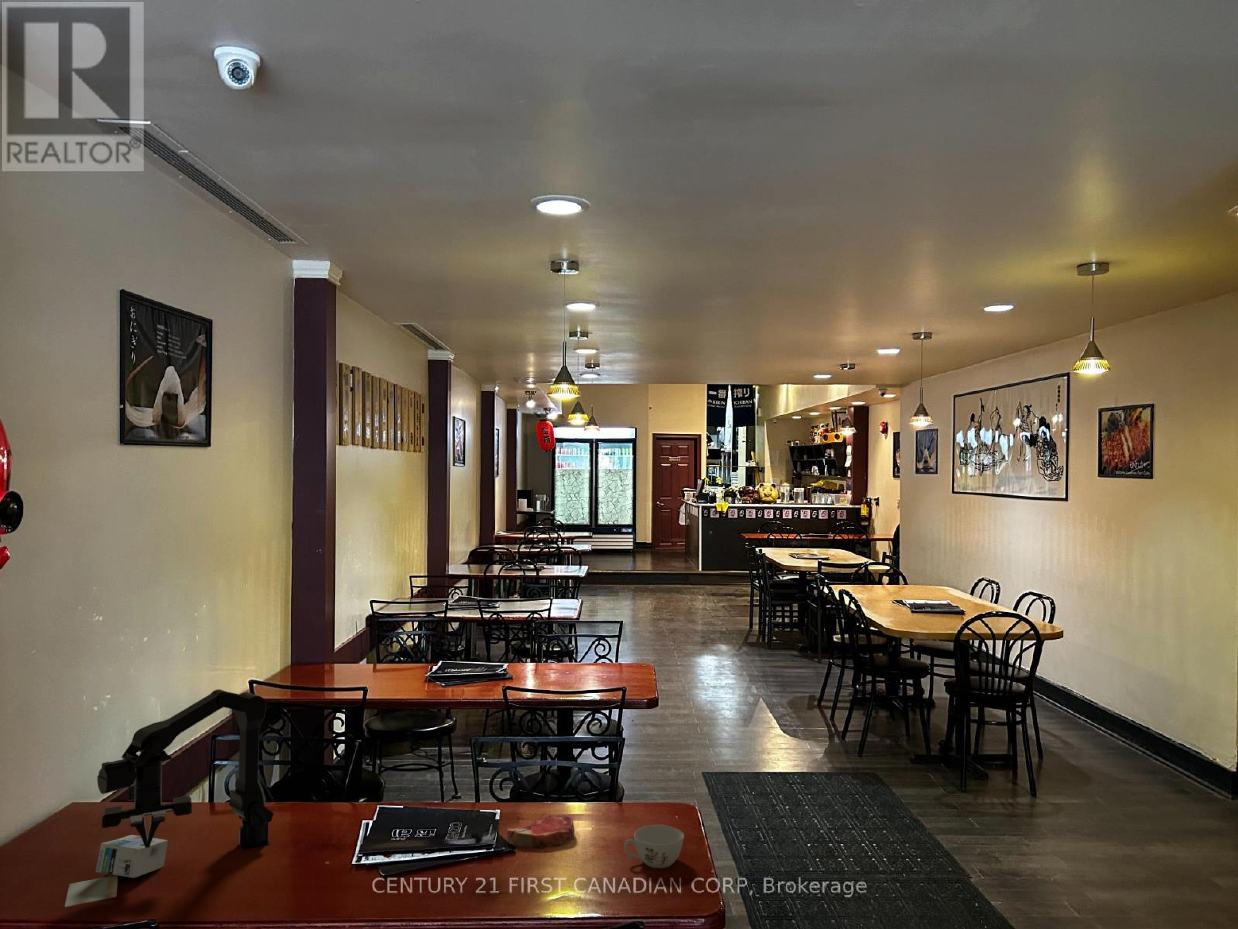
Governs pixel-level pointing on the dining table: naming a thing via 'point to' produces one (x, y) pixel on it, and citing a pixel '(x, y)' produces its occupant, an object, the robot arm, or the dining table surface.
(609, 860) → the dining table surface
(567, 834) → the steak
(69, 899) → the gray and beige tray
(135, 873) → the light bulb box
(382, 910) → the dining table surface
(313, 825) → the dining table surface
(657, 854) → the teacup
